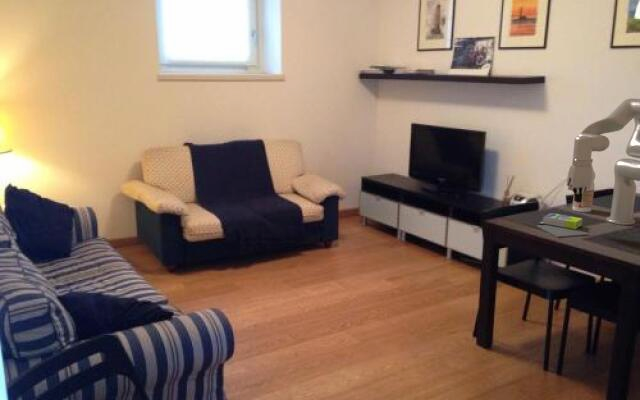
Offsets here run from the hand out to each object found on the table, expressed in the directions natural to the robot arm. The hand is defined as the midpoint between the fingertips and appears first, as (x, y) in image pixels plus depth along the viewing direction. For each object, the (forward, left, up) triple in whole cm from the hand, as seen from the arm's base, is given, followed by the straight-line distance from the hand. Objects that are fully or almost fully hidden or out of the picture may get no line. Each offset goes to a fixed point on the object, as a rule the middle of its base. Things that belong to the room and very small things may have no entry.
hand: (577, 201), depth 256 cm
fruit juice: (-26, -31, -14) cm, 43 cm away
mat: (+6, 0, -14) cm, 15 cm away
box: (-3, -1, -12) cm, 12 cm away
